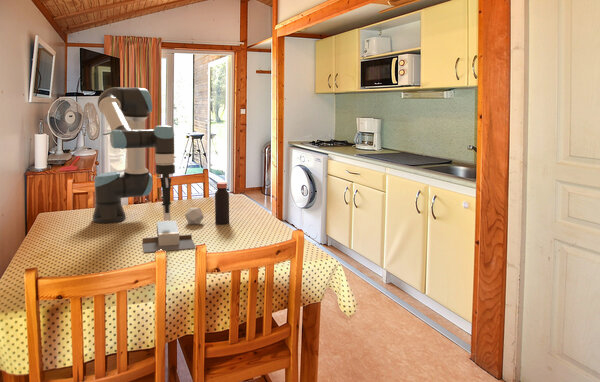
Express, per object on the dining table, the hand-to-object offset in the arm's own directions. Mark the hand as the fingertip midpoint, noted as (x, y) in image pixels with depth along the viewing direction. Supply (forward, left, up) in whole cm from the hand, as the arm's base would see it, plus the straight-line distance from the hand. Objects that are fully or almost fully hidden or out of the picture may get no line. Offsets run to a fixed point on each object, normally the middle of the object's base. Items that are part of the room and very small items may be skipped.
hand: (167, 219), depth 195 cm
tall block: (-5, 0, -4) cm, 6 cm away
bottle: (-25, +28, -10) cm, 39 cm away
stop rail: (-1, 0, -9) cm, 9 cm away
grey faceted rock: (-28, +15, -10) cm, 33 cm away
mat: (+6, 0, -10) cm, 11 cm away
